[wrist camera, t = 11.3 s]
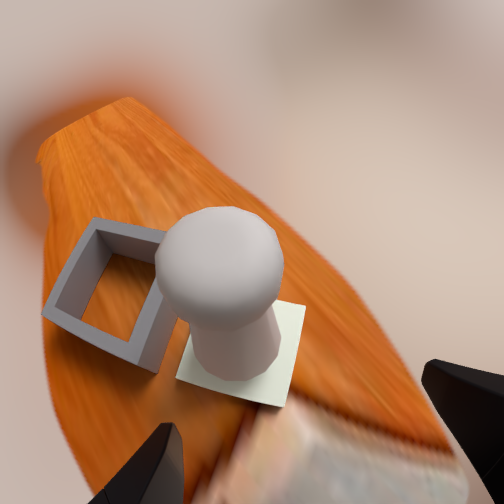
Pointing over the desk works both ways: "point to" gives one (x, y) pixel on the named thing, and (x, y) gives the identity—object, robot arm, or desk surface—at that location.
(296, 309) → the pad
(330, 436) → the desk surface
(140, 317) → the frame
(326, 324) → the desk surface
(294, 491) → the desk surface
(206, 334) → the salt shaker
